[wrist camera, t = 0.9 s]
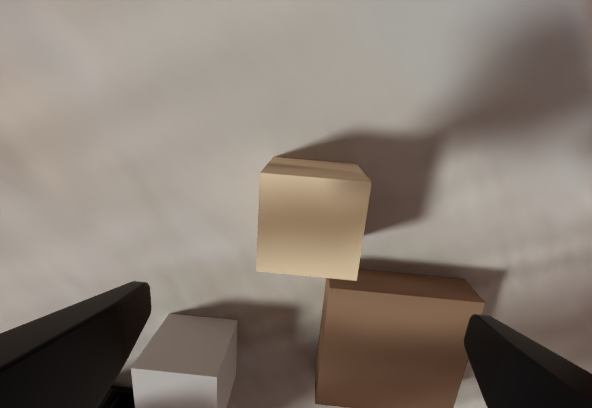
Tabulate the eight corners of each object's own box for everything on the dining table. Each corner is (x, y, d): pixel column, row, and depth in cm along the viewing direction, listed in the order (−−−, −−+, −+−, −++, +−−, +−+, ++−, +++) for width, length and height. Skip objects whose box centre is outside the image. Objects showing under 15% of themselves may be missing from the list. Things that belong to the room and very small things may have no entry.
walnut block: (432, 380, 23) (449, 418, 20) (315, 367, 23) (315, 403, 20) (461, 275, 20) (485, 302, 17) (327, 263, 21) (329, 288, 18)
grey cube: (236, 373, 23) (217, 440, 19) (173, 367, 24) (137, 431, 19) (237, 319, 22) (216, 377, 17) (170, 312, 22) (130, 368, 17)
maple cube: (346, 239, 20) (356, 280, 15) (269, 232, 20) (256, 271, 15) (356, 163, 18) (371, 182, 13) (273, 156, 18) (260, 172, 14)
